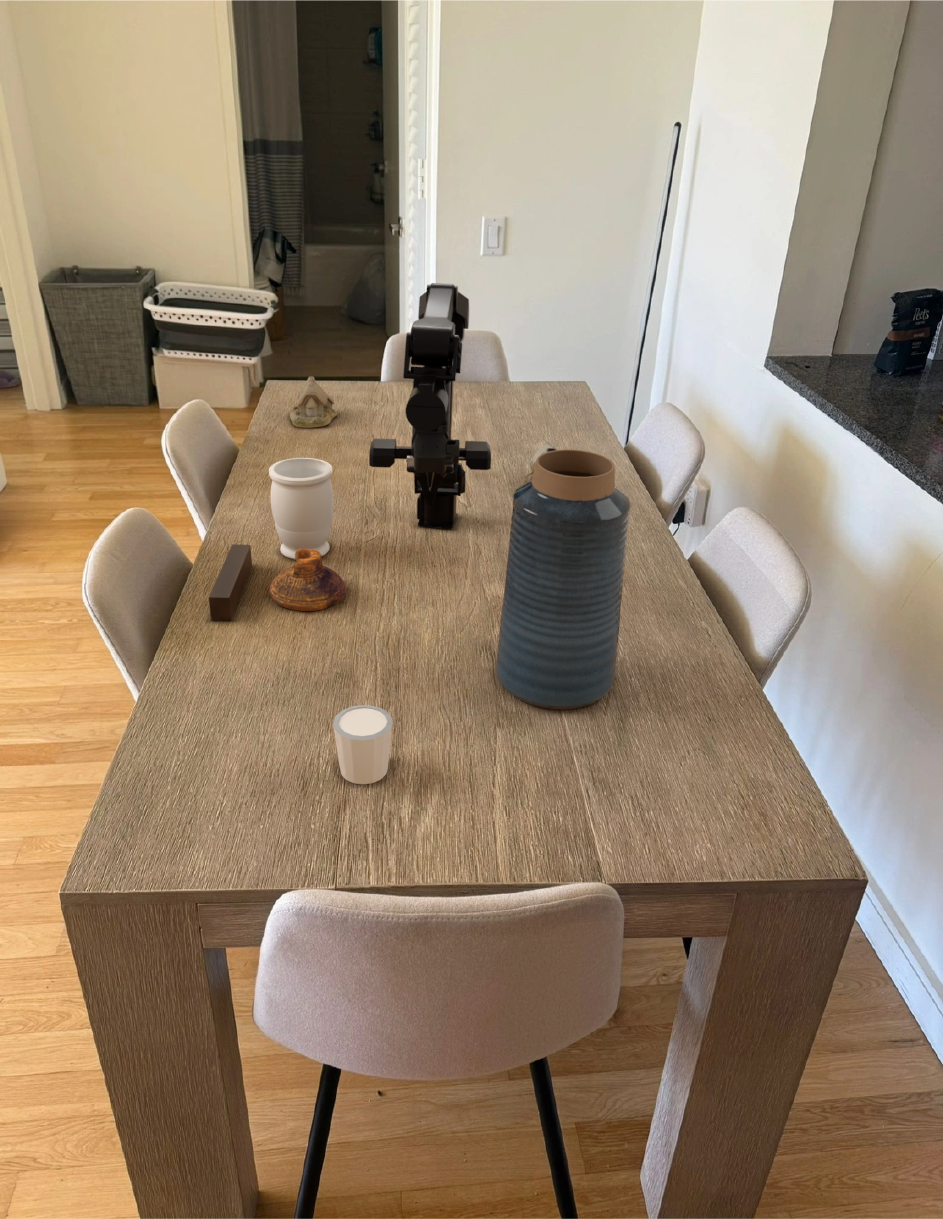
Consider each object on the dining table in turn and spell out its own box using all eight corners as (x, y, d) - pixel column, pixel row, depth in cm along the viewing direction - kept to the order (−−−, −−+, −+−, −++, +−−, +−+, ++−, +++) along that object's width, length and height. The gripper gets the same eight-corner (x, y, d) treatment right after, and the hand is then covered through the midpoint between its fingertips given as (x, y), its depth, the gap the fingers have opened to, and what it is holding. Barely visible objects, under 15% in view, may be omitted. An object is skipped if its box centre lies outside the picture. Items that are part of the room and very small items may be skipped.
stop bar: (252, 566, 157) (250, 544, 155) (231, 621, 141) (229, 597, 139) (234, 566, 157) (232, 544, 155) (211, 620, 141) (208, 597, 139)
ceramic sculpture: (574, 435, 193) (583, 465, 181) (570, 474, 198) (579, 506, 185) (522, 434, 193) (528, 464, 180) (520, 473, 198) (525, 505, 185)
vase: (534, 725, 121) (553, 497, 106) (474, 662, 134) (484, 449, 118) (637, 695, 128) (670, 476, 112) (572, 637, 141) (593, 433, 125)
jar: (323, 567, 157) (319, 483, 150) (264, 559, 159) (258, 476, 151) (343, 541, 166) (341, 460, 159) (287, 534, 168) (282, 453, 160)
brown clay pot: (335, 616, 143) (334, 573, 140) (259, 608, 145) (255, 565, 141) (354, 581, 153) (353, 540, 150) (283, 573, 155) (280, 533, 151)
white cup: (336, 751, 115) (334, 704, 112) (392, 750, 116) (392, 703, 112) (333, 788, 109) (331, 740, 106) (393, 787, 110) (393, 738, 106)
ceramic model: (290, 409, 229) (288, 368, 224) (337, 409, 230) (336, 368, 225) (287, 428, 217) (285, 385, 212) (337, 428, 218) (335, 386, 213)
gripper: (366, 425, 137) (367, 524, 144) (495, 429, 137) (489, 527, 145) (371, 402, 146) (372, 495, 154) (491, 405, 147) (486, 498, 155)
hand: (429, 504), depth 152 cm, fingers closed
